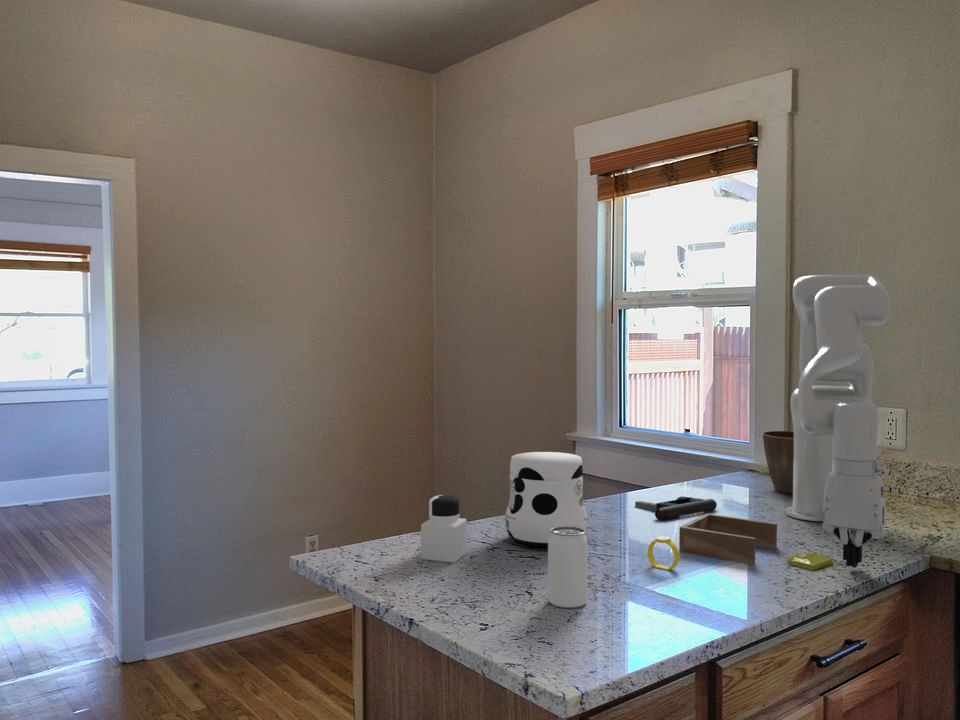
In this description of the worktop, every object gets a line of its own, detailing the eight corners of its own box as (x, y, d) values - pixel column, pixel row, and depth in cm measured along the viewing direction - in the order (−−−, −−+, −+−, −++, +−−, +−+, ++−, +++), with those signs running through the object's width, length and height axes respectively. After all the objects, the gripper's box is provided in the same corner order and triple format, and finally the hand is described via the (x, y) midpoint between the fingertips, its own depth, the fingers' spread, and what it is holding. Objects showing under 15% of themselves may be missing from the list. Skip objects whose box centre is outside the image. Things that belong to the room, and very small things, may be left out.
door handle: (618, 501, 197) (666, 509, 184) (673, 492, 208) (722, 499, 195) (618, 514, 197) (667, 523, 184) (673, 504, 208) (723, 512, 195)
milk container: (602, 540, 168) (603, 457, 168) (553, 557, 156) (553, 467, 155) (539, 526, 180) (539, 448, 179) (488, 541, 167) (488, 457, 167)
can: (544, 596, 133) (545, 526, 132) (582, 595, 134) (582, 525, 133) (551, 609, 127) (551, 536, 126) (590, 608, 127) (591, 535, 127)
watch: (646, 568, 149) (644, 537, 150) (653, 565, 152) (651, 534, 152) (674, 572, 145) (672, 540, 146) (681, 569, 147) (680, 537, 148)
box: (706, 535, 172) (706, 513, 172) (776, 547, 163) (777, 523, 163) (679, 551, 160) (679, 527, 160) (753, 564, 151) (753, 539, 151)
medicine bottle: (467, 553, 158) (467, 494, 158) (454, 563, 152) (454, 501, 151) (434, 550, 161) (434, 492, 160) (420, 559, 154) (420, 499, 154)
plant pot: (817, 488, 224) (818, 432, 223) (820, 498, 210) (821, 439, 209) (762, 484, 229) (762, 429, 228) (760, 494, 215) (761, 436, 215)
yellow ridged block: (815, 577, 145) (815, 562, 145) (771, 565, 153) (771, 551, 153) (844, 568, 151) (844, 553, 151) (800, 557, 159) (800, 543, 159)
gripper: (902, 469, 145) (900, 567, 146) (816, 461, 154) (815, 553, 155) (895, 475, 139) (893, 577, 140) (806, 466, 148) (805, 562, 149)
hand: (852, 564), depth 147 cm, fingers closed
